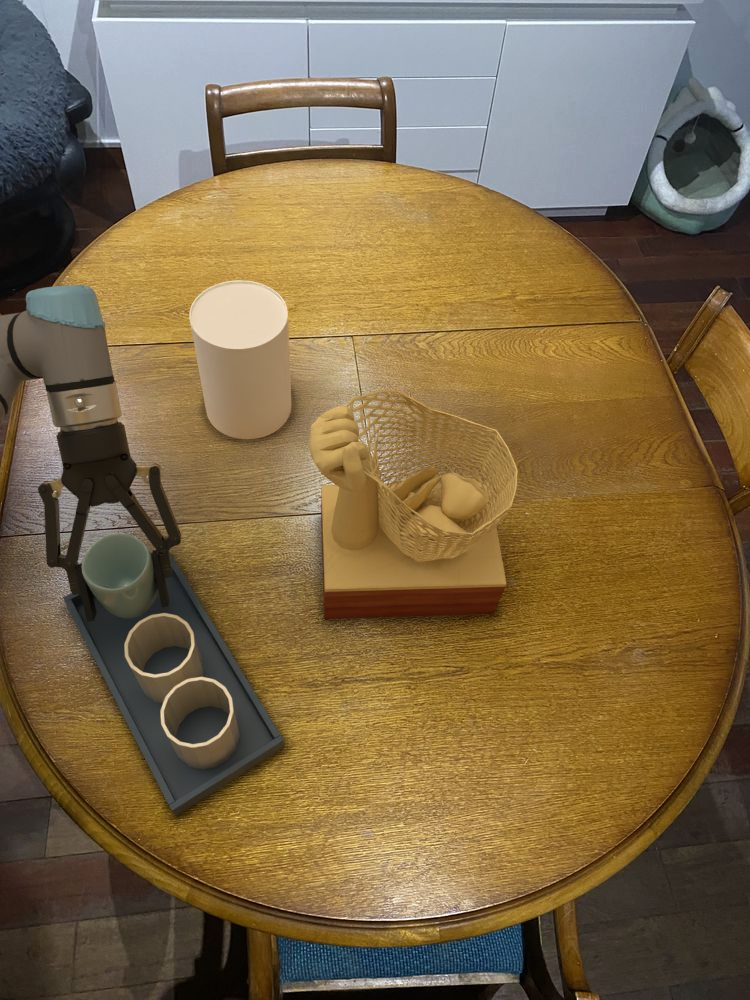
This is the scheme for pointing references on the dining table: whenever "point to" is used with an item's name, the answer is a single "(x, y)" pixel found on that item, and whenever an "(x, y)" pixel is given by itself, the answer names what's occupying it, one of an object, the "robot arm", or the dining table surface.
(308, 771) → the dining table surface
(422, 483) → the basket
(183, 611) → the tray
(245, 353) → the canister
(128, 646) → the cup
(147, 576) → the cup
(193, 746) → the cup
